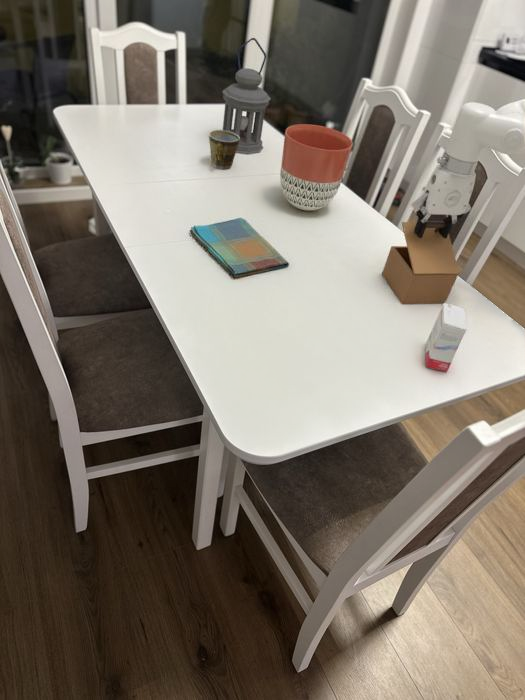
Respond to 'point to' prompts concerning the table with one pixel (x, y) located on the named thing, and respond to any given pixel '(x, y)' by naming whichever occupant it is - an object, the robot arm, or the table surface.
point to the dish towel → (238, 247)
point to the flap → (430, 249)
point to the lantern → (246, 107)
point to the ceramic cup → (223, 148)
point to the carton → (415, 280)
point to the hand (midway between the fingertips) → (430, 234)
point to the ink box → (445, 337)
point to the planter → (313, 165)
